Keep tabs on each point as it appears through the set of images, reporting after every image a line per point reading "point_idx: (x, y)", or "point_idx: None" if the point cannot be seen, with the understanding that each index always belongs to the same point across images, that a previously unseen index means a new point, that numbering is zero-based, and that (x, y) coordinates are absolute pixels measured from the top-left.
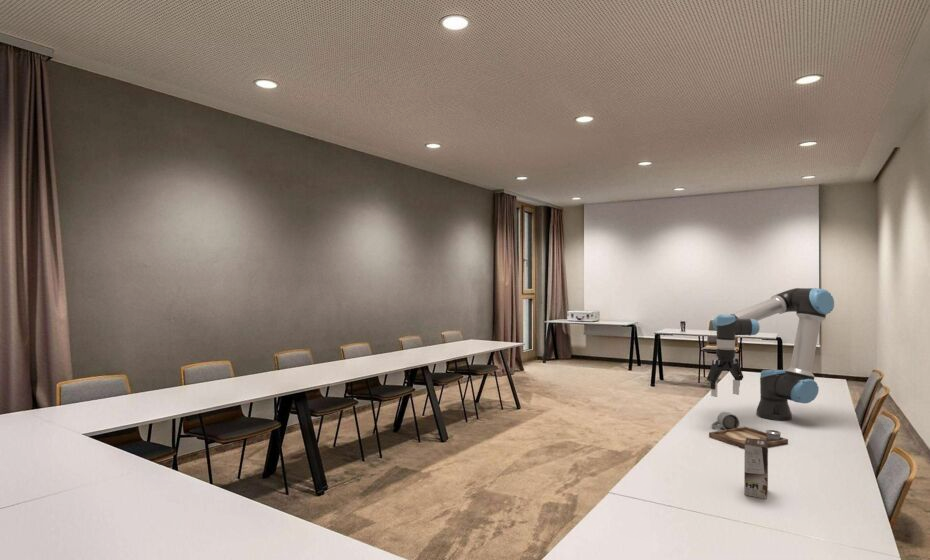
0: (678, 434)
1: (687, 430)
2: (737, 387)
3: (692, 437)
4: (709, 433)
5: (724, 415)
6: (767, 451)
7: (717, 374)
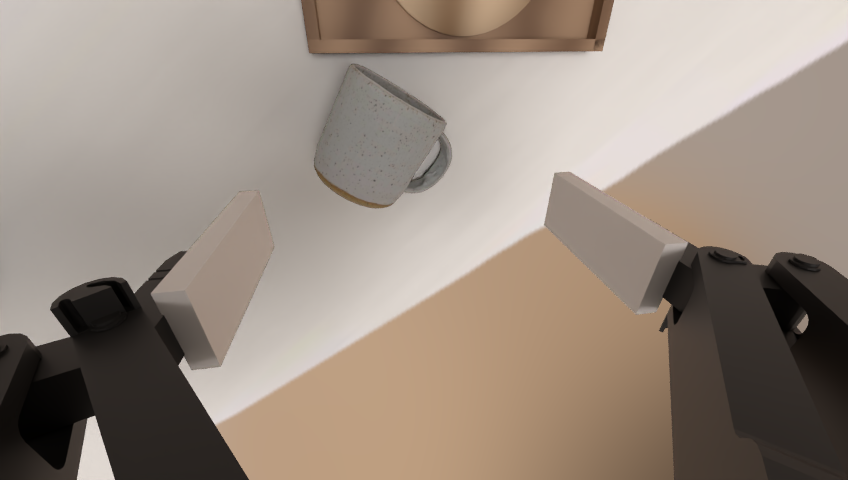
0: (649, 145)
1: None
2: (233, 234)
3: (649, 83)
4: (600, 47)
5: (429, 132)
6: None
7: (781, 348)
